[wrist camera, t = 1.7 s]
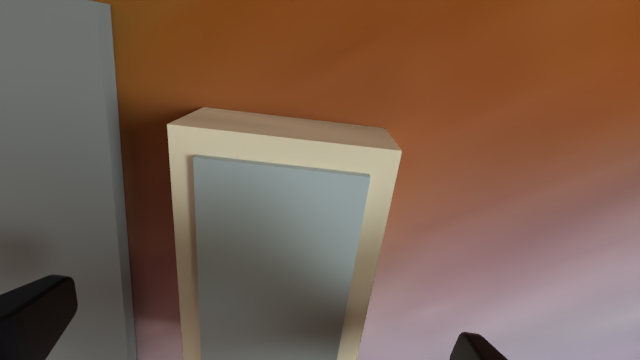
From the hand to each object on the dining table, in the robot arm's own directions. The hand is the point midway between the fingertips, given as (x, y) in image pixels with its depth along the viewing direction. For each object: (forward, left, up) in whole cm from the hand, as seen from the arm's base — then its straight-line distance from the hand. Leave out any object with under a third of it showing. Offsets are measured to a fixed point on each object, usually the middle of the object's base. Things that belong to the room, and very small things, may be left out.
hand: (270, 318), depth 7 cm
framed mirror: (0, 0, -3) cm, 3 cm away
